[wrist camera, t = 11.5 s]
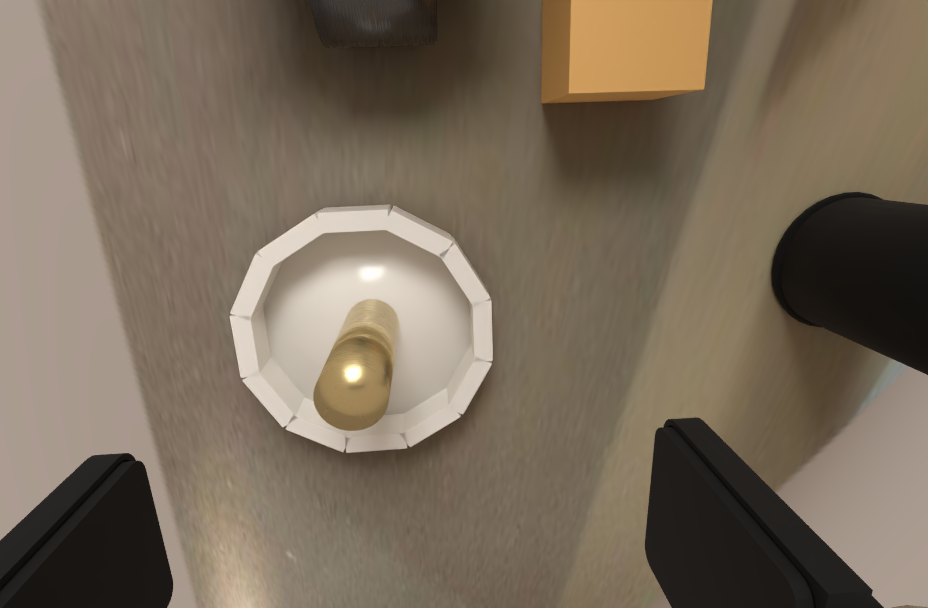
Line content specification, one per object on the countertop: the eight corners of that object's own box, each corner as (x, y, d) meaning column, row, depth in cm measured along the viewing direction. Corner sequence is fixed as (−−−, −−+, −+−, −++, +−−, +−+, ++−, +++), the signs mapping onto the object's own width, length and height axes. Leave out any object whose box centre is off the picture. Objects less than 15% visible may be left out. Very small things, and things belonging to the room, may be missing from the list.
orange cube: (658, -6, 26) (716, -43, 21) (651, 99, 28) (704, 89, 23) (542, -3, 26) (571, -41, 21) (541, 103, 28) (569, 93, 22)
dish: (482, 198, 29) (488, 204, 26) (488, 415, 33) (494, 441, 30) (233, 210, 28) (212, 217, 25) (270, 431, 32) (255, 459, 29)
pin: (396, 297, 29) (385, 360, 21) (401, 347, 30) (392, 428, 21) (342, 300, 29) (308, 365, 20) (348, 350, 30) (318, 433, 21)
